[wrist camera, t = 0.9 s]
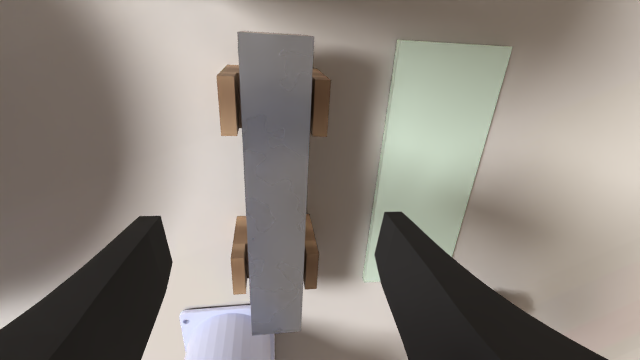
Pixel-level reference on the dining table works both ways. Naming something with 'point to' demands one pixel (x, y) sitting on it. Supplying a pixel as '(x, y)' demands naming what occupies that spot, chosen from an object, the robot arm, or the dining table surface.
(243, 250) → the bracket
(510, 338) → the robot arm
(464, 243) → the dining table surface
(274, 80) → the rail
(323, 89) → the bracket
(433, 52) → the mat
